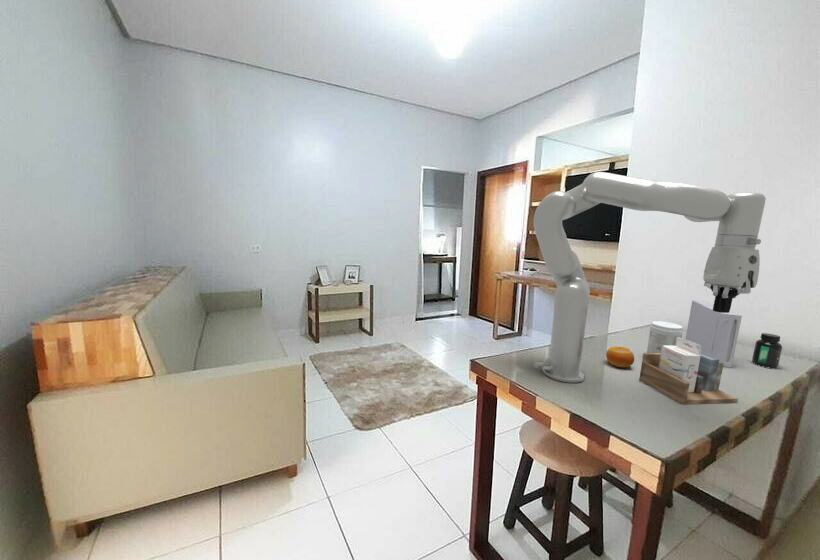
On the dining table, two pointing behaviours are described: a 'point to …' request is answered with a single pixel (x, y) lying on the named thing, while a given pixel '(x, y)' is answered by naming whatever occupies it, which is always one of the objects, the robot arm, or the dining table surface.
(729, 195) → the robot arm
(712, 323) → the game console
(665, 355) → the ink cartridge box
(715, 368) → the wooden slotted rack
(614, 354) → the fruit
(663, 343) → the supplement tub
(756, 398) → the dining table surface
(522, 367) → the dining table surface
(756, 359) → the supplement bottle
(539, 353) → the dining table surface
